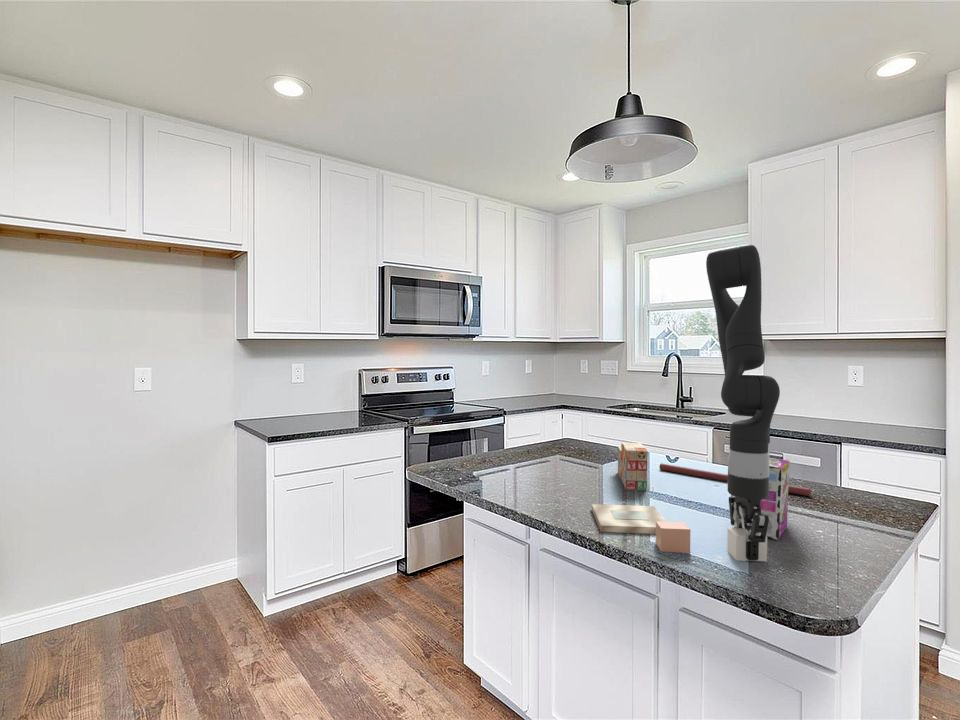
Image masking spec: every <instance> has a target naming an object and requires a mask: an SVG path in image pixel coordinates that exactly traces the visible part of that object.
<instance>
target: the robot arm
mask: <svg viewBox="0 0 960 720" xmlns="http://www.w3.org/2000/svg"><path fill="white" fill-rule="evenodd" d="M705 262H706V263H705V264H706V266H705V267H706V275H707V280H708V284H709V288H710V292H711V297H712V302H713V305H714V310H715V318H716V326H717V335H718V345H719V349H720V353H721V360H722V364H723V370H724V379H723V382H722V384H721V385H722V386H721V391H720V397H721V400H722V403H723V404H724V405H725V406H726V407H727V409H728V411H729V413H730V414H732V415H734V416H741V417H750V418H747V419H743V420H737V421H736V420H735V421H733V422H732V423H731V424H730V427H729V453H728V458H727V461H728V462H727V475H728V482H727V492H728V494H730V496H729V497H728V507H729V518H730V519H729V521H730V525H731V526H733V528H743V529H744V530H745V535H746V558H747V559H748V560H758V555H759V542H765V539H766V533H767V528H768V522H769V517H768V515H762V510H761V504H760V501H761V500H762V499H766V498H767V497H768V496H769V458H770V452H771V451H770V450H771V449H770V446H771V444H770V443H771V423H772V420H773V417H774V414H775V411H776V408H777V406H778V402H779V400H780V394H781V390H780V385H779V383H778V382H777V380H776V379H775V378H774V377H772V376H769V375H750V374H749V375H746V374H745V375H743V374H744V373H745V372H746V371H751V370H755V369H758V368H760V367H762V366H763V365H764V363H765V349H764V348H765V347H764V342H763V334H762V318H761V317H762V265H761V257H760V253H759V251H758V248H757V247H756V246H755V245H754V244H743V245H738V246H737V245H736V246H731V247H726V248H721V249H716V250H713V251H710V252H709V253H708V255H707V256H706V260H705ZM738 287H739V288H740V287H745V293H744V296H743V298H742V300H741V302H740V304H739V305H738V304H737V303H736V302H735V301H734V299H733V298H732V297H731V296H730V294H729V292H728V290H727V289H732V288H738ZM750 524H751V525H750ZM750 530H751V533H750ZM760 533H761V535H760Z"/></svg>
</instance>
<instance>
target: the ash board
mask: <svg viewBox="0 0 960 720" xmlns="http://www.w3.org/2000/svg"><path fill="white" fill-rule="evenodd" d="M591 511H592V513H593V517H594V518H595V520H596V523H597V526H598V528H599V531H600V532H601V533H626V534H627V533H629V534H651V535H653V534H655V535H656V521H666V522H668V521H667V520H666V519H665V518H664V517H663V516H662V513H660V511H659V510H658V509H657V507H656V506H654V505H631V504H630V505H629V504H628V505H625V504H601V503H600V504H599V503H598V504H596V503H595V504H591Z"/></svg>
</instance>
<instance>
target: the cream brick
mask: <svg viewBox="0 0 960 720" xmlns="http://www.w3.org/2000/svg"><path fill="white" fill-rule="evenodd" d="M750 533H751V530H750ZM760 535H761V533H760ZM726 538H727V542H726V543H727V549H726V551H727V552H728V554H729V555H730V556H731V557H732V556H733V557H732V558H733V559H734V560H736V561H745V562H746V561H748V562H749V561H751V562H768V538H767V536H766V539H765V542H759V555H758V560H748V559H747V558H746V535H745V530H744V529H743V528H734V527H727V537H726Z"/></svg>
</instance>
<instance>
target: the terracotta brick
mask: <svg viewBox="0 0 960 720" xmlns="http://www.w3.org/2000/svg"><path fill="white" fill-rule="evenodd" d="M666 521H667V520H666ZM666 521H656V534H655V545H656V546H657V548H658V549H659V550H660V552H667V553H669V552H670V553H687V554H688V553H691V528H690V527H689V526H688V525H687V523H685V522H684V521H667V522H666Z"/></svg>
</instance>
